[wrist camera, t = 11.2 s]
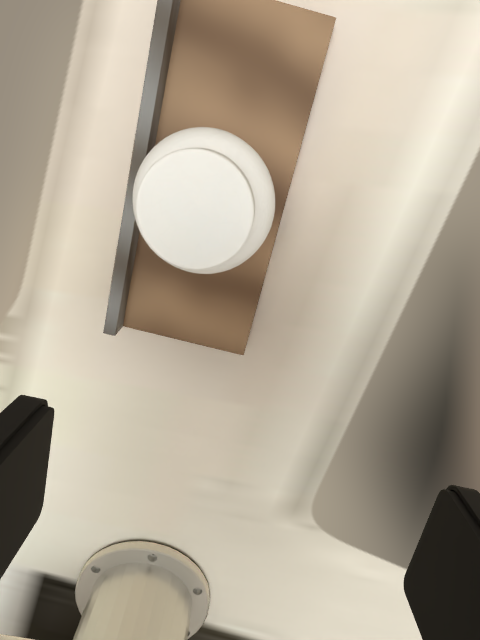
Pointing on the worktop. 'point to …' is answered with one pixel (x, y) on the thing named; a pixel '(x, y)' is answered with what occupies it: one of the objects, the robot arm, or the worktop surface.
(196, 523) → the worktop surface
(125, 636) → the robot arm
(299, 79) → the shelf
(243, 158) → the supplement bottle
